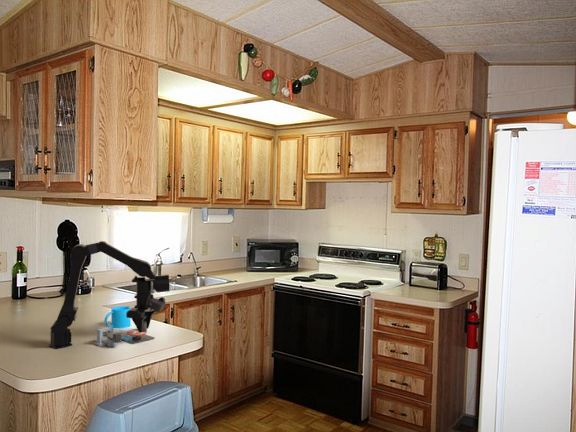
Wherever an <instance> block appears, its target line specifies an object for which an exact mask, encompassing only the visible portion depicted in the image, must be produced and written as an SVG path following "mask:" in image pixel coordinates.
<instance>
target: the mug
mask: <svg viewBox="0 0 576 432" xmlns="http://www.w3.org/2000/svg"><path fill="white" fill-rule="evenodd" d="M128 310H131V307H130V306H125V305H123V306H121V305H120V306H114V307H112V308H111V311H110V312H108V313H107V314H106V315H105V317H104V324H105V325H106V326H107V327H112V328H113V329H127V328H130V327H131V318H127V317H126V312H127V311H128ZM109 317H111V319H110V321H111V324H109V322H108V318H109Z"/></svg>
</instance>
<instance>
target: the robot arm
mask: <svg viewBox="0 0 576 432" xmlns="http://www.w3.org/2000/svg"><path fill="white" fill-rule="evenodd" d="M97 253H98V254H99V253H103V254H105V255H107V256H109V257H110V258H112V259H113V260H116V261H118V262H119V263H121V264H123V265H125V266H127V267H128V268H129V269H131V271H133V272H134V273H135V274H137V275H138V276H137V275H134V277H133V278H132V279H131V282H132V283H136V285H135V286H136V290H135V293H136V294H134V299H135V300H136V301H135V302H136V305H134V308H130V310H128V311H127V312H126V317H127V318H130V319H131V320H132V322H133V323H134V325H135V327H136V329H138V331H139V332H142V329H143V321H147V330H148V329H149V328H150V324H151V320H152V317H153V315H154V314H155V313H156V312H157V313H160V312H161V311H164V307H165V306H166V305H167V304H166V298H164V297H163V296H161V297H159V298H156V297H154V293H152V290H154V291H155V293H158V292H170V290H171V289H170V288H171V284H170V276H169V274H163V275H160V274H159V275H156V274H155V272H154V271H152V266H151V264H150V263H149V262H148V261H145V260H143V259H140V258H136V257H133V256H131V255H129V254H127V253H125V252H123V251H122V250H120V249H118V248H116V247H115V246H112V245H111V244H109V243H107V242H106V241H103V240H101V241H99V242H94V243H90V244H86V245H85V244H83V243H81V244H80V243H79V244H76V245H75V246H74V247H72V248H71V249H70V272H69V274H68V275H69V276H68V281H67V286H66V290H65V295H64V300H63V303H62V306H61V308H60V310H59V313H58V316H57V318H56V320H55V321H54V322H53V323H52V325H51V327H50V343H49V344H48V347H51V348H53V349H56V350H58V349H62V348H65V347H70V346H73V343H72V332H71V329H70V328H69V327H71V325H72V324H73V323H74V322H75V321H76V319H77V312H78V310H79V307H76V304H75V303H76V301H75V300H76V297H77V292H78V287H79V282H80V277H81V272H82V268H83V266H84V263H85V261H86V259H87V256H92V255H94V254H97Z"/></svg>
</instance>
